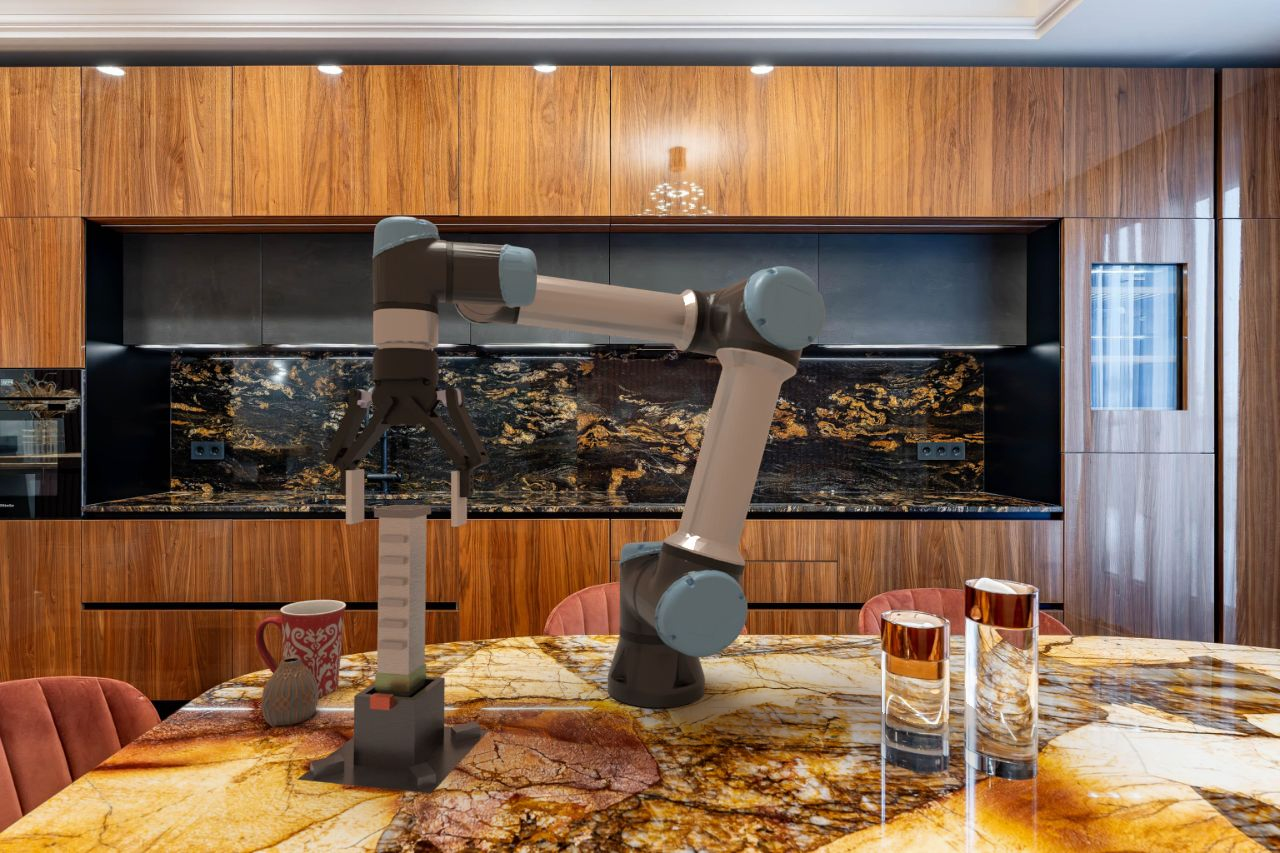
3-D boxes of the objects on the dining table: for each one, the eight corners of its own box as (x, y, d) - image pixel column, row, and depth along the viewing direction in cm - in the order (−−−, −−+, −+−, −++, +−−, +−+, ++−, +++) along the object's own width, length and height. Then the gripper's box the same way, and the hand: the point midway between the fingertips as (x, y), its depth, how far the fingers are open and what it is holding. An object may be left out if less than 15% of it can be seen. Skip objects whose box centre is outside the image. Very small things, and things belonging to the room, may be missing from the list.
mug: (354, 685, 108) (355, 599, 108) (329, 708, 99) (330, 614, 99) (273, 685, 108) (274, 598, 108) (240, 708, 99) (241, 613, 99)
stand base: (488, 737, 90) (489, 664, 90) (431, 802, 74) (432, 713, 74) (375, 727, 93) (376, 657, 93) (297, 788, 77) (298, 702, 77)
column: (428, 683, 86) (431, 505, 86) (408, 698, 81) (411, 510, 81) (393, 680, 86) (395, 504, 87) (371, 695, 81) (373, 509, 82)
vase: (248, 730, 92) (249, 664, 92) (291, 710, 98) (292, 649, 98) (288, 738, 89) (289, 670, 89) (329, 718, 96) (330, 654, 96)
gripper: (514, 350, 86) (515, 521, 85) (331, 354, 90) (331, 518, 90) (491, 342, 78) (492, 530, 78) (293, 348, 82) (293, 526, 82)
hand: (406, 524), depth 84 cm, fingers open, 13 cm apart
